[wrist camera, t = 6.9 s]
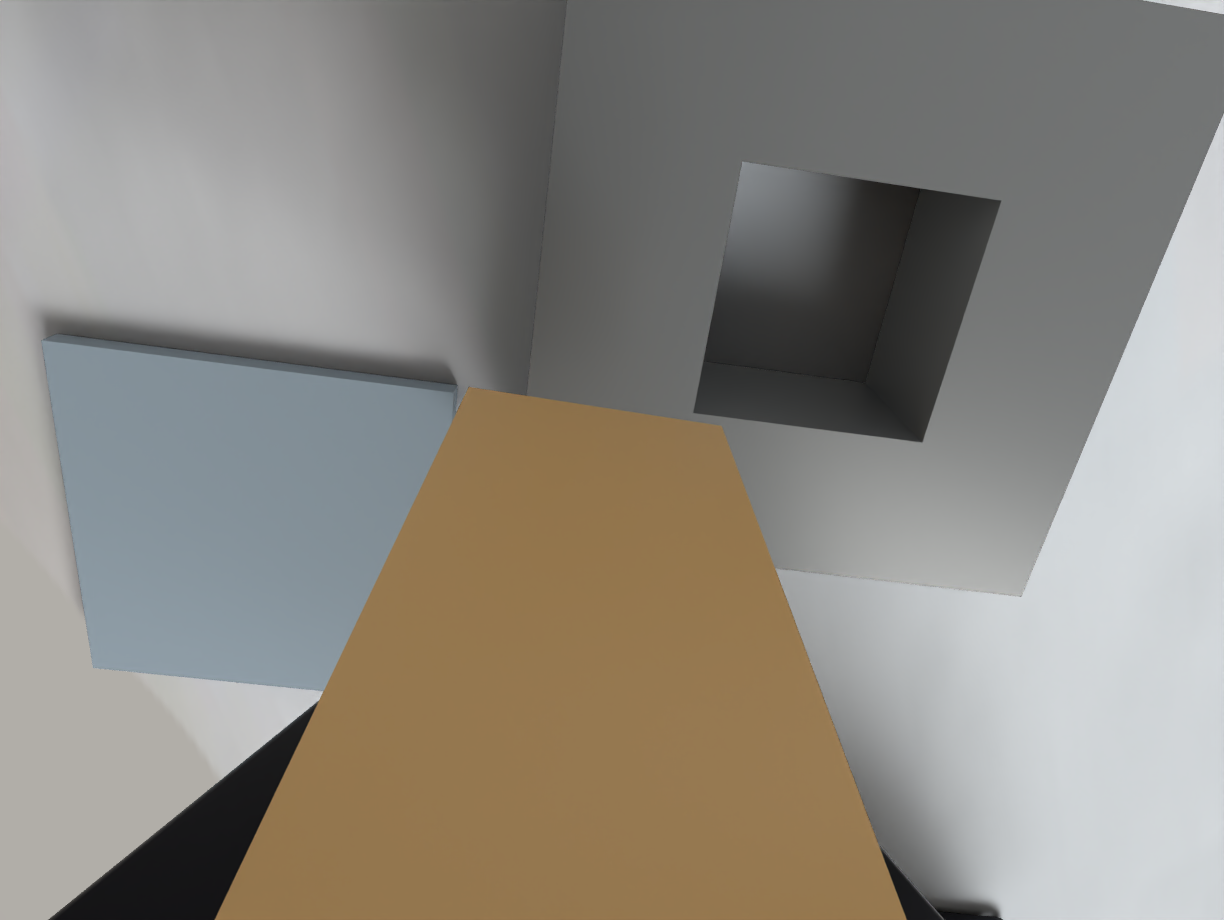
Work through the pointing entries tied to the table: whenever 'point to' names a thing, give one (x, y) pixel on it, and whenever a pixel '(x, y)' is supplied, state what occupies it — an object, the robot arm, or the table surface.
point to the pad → (232, 503)
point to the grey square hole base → (931, 259)
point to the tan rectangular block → (570, 702)
